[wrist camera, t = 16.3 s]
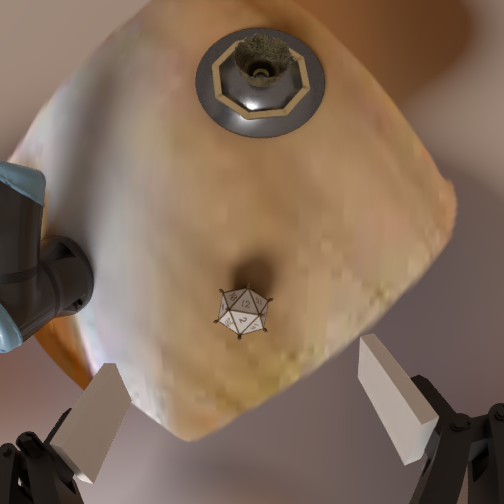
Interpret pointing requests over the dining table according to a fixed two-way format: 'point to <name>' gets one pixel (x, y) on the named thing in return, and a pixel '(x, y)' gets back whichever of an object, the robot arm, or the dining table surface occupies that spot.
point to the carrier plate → (259, 89)
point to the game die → (243, 311)
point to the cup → (262, 59)
